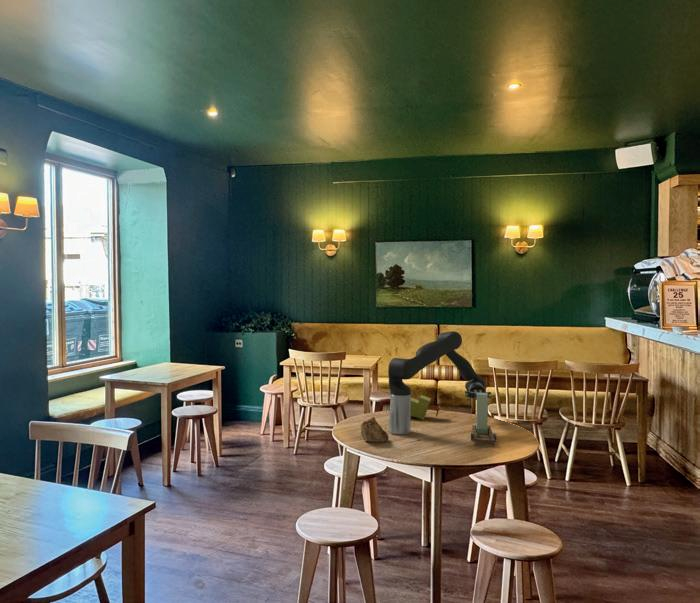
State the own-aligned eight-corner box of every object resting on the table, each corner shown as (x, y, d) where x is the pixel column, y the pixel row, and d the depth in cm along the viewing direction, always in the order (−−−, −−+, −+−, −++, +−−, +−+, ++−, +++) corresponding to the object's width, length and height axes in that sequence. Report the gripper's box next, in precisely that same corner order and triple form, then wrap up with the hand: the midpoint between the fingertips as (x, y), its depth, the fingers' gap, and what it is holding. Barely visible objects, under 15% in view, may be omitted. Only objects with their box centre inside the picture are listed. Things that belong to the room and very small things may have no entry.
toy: (434, 424, 259) (397, 410, 263) (441, 401, 258) (404, 388, 262) (433, 428, 250) (394, 414, 254) (440, 405, 249) (401, 391, 253)
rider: (475, 430, 229) (476, 392, 229) (486, 430, 229) (487, 392, 229) (476, 433, 224) (476, 394, 224) (487, 434, 223) (488, 395, 223)
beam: (469, 430, 231) (469, 424, 231) (492, 432, 229) (492, 426, 229) (471, 445, 208) (471, 438, 207) (497, 447, 205) (497, 440, 205)
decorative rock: (362, 444, 208) (362, 418, 208) (358, 440, 214) (358, 415, 214) (389, 442, 211) (390, 416, 211) (385, 438, 217) (385, 413, 217)
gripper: (463, 383, 254) (464, 389, 237) (490, 383, 252) (493, 390, 235) (463, 398, 254) (464, 405, 237) (490, 398, 252) (493, 406, 235)
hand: (479, 398), depth 236 cm, fingers closed
